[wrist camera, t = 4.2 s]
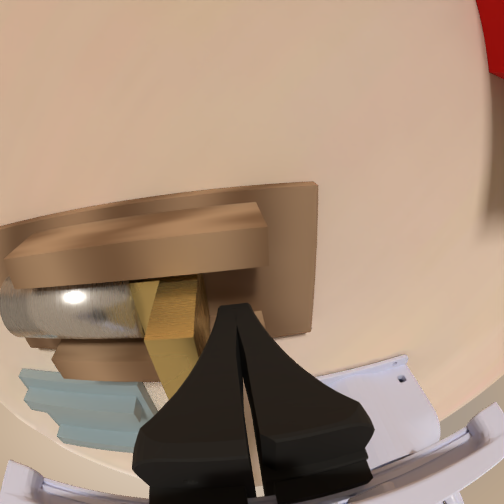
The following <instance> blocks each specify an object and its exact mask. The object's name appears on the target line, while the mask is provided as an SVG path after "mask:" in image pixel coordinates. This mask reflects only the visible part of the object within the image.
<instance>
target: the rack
mask: <svg viewBox="0 0 504 504" xmlns="http://www.w3.org/2000/svg"><path fill="white" fill-rule="evenodd" d="M19 378H20V379H21V380H22V382H23V383H24V385H25V386H26V387H27V388H28V391H27V393H26V396H25V398H24V401H25V402H26V403H27V405H28V406H29V407H30V408H31V409H32V410H36V411H41V412H46V413H48V414H49V415H50V416H51V418H52V419H53V420H54V421H55V422H56V423H57V424H58V425H59V426H60V427H59V430H58V434H57V437H58V438H59V439H60V440H61V441H62V442H63V443H66V444H71V445H76V446H82V447H88V448H94V449H101V450H109V451H118V452H128V453H133V451H134V445H135V442H136V438H137V435H138V432H139V429H140V428H141V427H142V426H143V425H144V424H145V423H146V422H147V421H149V420H150V419H151V418H152V417H153V416H154V415H155V414H156V413H157V412H158V411H157V409H156V407H155V405H154V404H153V402H152V400H151V398H150V396H149V394H148V392H147V390H146V388H145V386H144V385H143V383H142V382H114V381H90V380H75V379H64V378H63V377H62V375H61V374H60V373H58V372H48V371H38V370H30V369H22V370H21V372H20V374H19Z"/></svg>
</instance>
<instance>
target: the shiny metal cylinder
mask: <svg viewBox="0 0 504 504" xmlns="http://www.w3.org/2000/svg"><path fill="white" fill-rule="evenodd" d="M129 281H130V280H125V281H114V282H103V283H91V284H79V285H67V286H55V287H42V288H28V289H14V286H13V284H12V281H11V279H10V276H8V277H7V278H6V279H5V281H4V282H3V284H2V287H1V290H0V314H1V317H2V320H3V322H4V325H5V326H6V328H7V329H8V330H9V332H10V333H12V334H13V335H15V336H17V337H28V338H54V339H120V338H144V337H145V332H144V329H143V327H142V324H141V321H140V318H139V315H138V312H137V309H136V306H135V303H134V300H133V297H132V294H131V290H130V287H129V284H128V283H129Z"/></svg>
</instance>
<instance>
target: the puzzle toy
mask: <svg viewBox="0 0 504 504" xmlns="http://www.w3.org/2000/svg"><path fill="white" fill-rule="evenodd" d="M476 2H477V6H478V10H479V14H480V18H481V23H482V28H483V33H484V38H485V44H486V51H487V58H488V66H489V72H490V73H492V74H494V75H496V76H498V77H500V78H502V79H504V0H476Z"/></svg>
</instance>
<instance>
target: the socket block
mask: <svg viewBox="0 0 504 504" xmlns="http://www.w3.org/2000/svg"><path fill="white" fill-rule="evenodd" d="M317 220H318V185H317V184H316V183H314V182H295V183H279V184H265V185H252V186H240V187H230V188H219V189H210V190H201V191H192V192H183V193H175V194H168V195H160V196H153V197H146V198H139V199H133V200H126V201H120V202H114V203H108V204H102V205H97V206H91V207H86V208H80V209H75V210H70V211H65V212H60V213H55V214H51V215H46V216H41V217H37V218H32V219H28V220H24V221H20V222H16V223H11V224H7V225H4V226H0V289H1V287H2V284H3V282H4V281H5V279H6V278H7V277H8V276H10V279H11V281H12V284H13V286H14V289H28V288H42V287H55V286H67V285H79V284H91V283H103V282H114V281H125V280H136V279H147V278H158V277H168V276H178V275H188V274H198V273H203V277H204V283H205V289H206V295H207V301H208V306H209V334H211V331H212V329H213V326H214V323H215V320H216V316H217V312H218V308H219V307H220V306H221V305H230V304H240V303H249V304H250V305H251V307H252V309H253V311H254V313H255V315H256V316H257V318H258V319H259V321H260V323H261V324H262V325H263V327H264V328H265V329H266V331H267V332H268V333H269V335H270V336H271V337H272V338H273V337H281V336H287V335H294V334H300V333H306V332H311V324H312V312H313V299H314V285H315V268H316V248H317ZM25 338H26V340H27V342H28V344H29V345H30V347H32V348H49V349H56V351H55V353H54V355H53V357H52V359H51V360H52V361H53V363H54V364H55V366H56V368H57V369H58V371H59V372H60V374H61V375H62V377H63V378H64V379H75V380H90V381H114V382H160V379H159V377H158V374H157V372H156V370H155V367H154V365H153V362H152V360H151V357H150V355H149V352H148V350H147V347H146V345H145V342H144V338H145V337H144V338H120V339H54V338H28V337H25Z"/></svg>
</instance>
